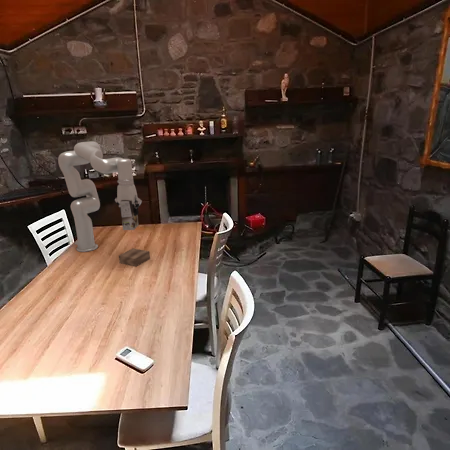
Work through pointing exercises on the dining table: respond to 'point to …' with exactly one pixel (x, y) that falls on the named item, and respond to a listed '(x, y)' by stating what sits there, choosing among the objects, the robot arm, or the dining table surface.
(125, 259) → the walnut block
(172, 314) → the dining table surface
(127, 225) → the coffee box
